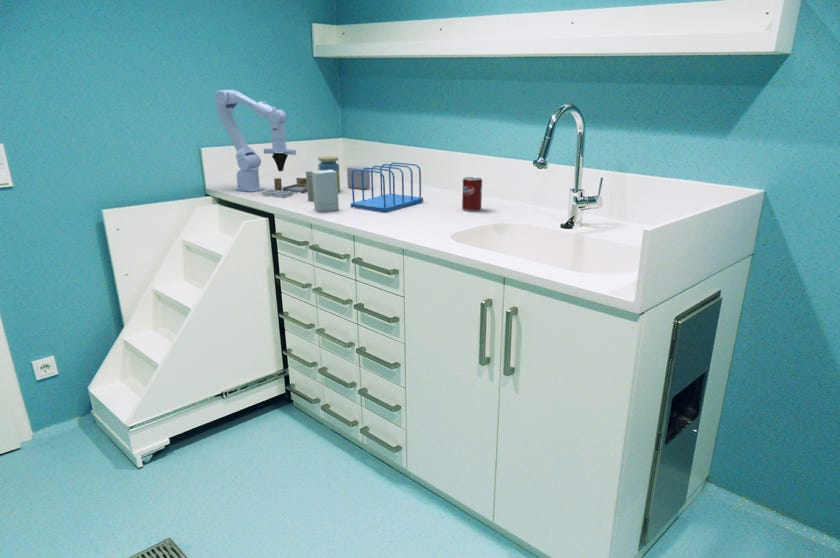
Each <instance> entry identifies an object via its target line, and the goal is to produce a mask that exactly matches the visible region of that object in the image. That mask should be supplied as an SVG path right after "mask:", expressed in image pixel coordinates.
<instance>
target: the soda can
mask: <svg viewBox="0 0 840 558" xmlns="http://www.w3.org/2000/svg"><path fill="white" fill-rule="evenodd" d="M482 193H483V179H482V178H481V177H477V176H468V177H464V178H463V179H462V197H461V198H462V201H461V207H462V210H463V211H464V212H480V211H481V209H482V197H483V196H482Z"/></svg>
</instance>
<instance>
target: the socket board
mask: <svg viewBox="0 0 840 558" xmlns="http://www.w3.org/2000/svg"><path fill="white" fill-rule="evenodd" d="M294 194H295V193H294V192H289V191H283V190H282V191H279V190H275V189H267V190H264V191H262V193H261V196H262V195H265V196H264V197H270V196H273V197H274V198H279V197H281V199H285V197H286V198H289V196H290V197H293V196H292V195H294ZM294 196H295V195H294ZM273 197H272V198H273Z"/></svg>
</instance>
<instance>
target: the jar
mask: <svg viewBox="0 0 840 558" xmlns="http://www.w3.org/2000/svg"><path fill="white" fill-rule="evenodd" d="M318 161H319V162H320V163H318V164H317V165H318V166H317V167H318V169H317V170H334V171H336V172H337V187H338V193H339V192H340V191H341V185H340V184H341V183H340V180H341V179H340V164H338V163H337V161H339V157H337V156H320V157H318Z"/></svg>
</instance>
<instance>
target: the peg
mask: <svg viewBox="0 0 840 558" xmlns="http://www.w3.org/2000/svg"><path fill="white" fill-rule="evenodd" d="M273 180H274V182H273V183H274V184H273V185H274V190H279V191H283V185H282V178H279V177H278V178H277V177H276V178H274V179H273Z"/></svg>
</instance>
